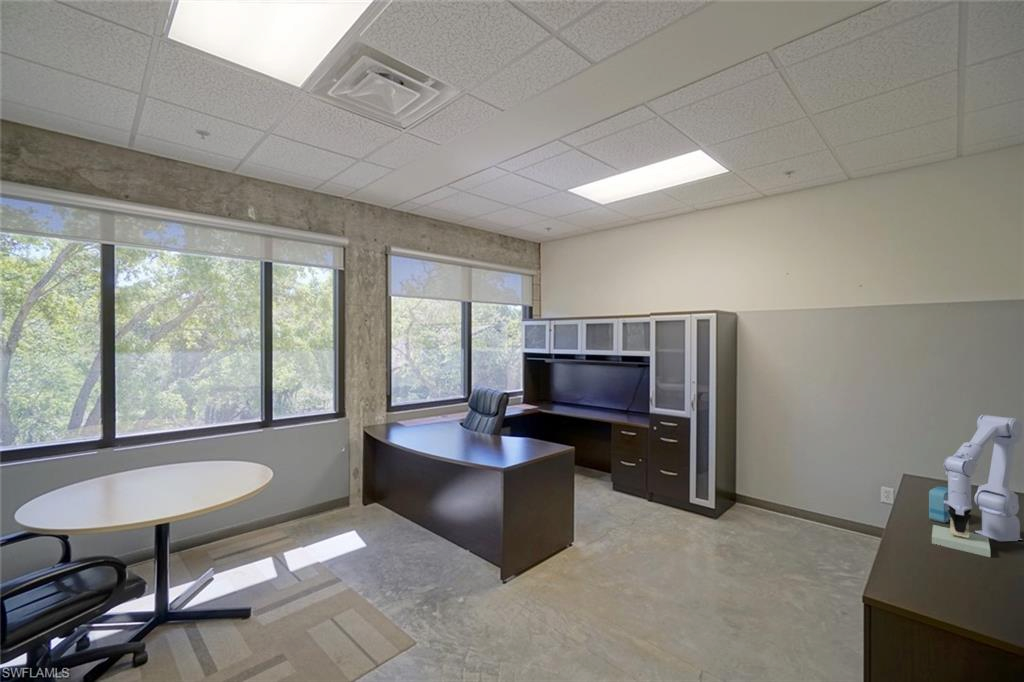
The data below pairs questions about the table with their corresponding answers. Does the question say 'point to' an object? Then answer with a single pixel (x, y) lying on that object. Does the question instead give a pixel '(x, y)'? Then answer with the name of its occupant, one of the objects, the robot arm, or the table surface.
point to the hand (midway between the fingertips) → (959, 529)
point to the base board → (961, 541)
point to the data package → (939, 504)
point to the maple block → (954, 532)
